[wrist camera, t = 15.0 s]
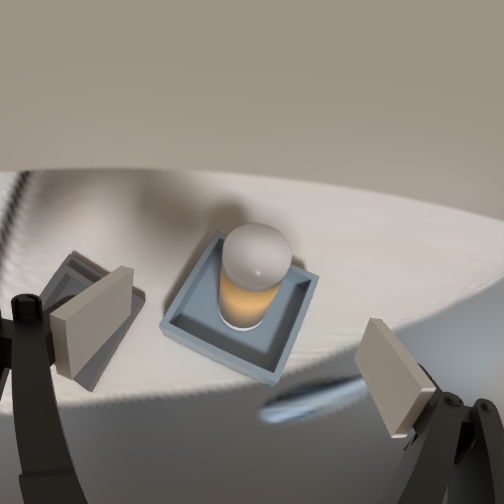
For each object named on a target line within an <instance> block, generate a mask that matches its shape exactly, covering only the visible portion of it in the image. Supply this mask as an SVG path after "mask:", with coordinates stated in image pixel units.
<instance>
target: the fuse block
mask: <svg viewBox="0 0 504 504" xmlns="http://www.w3.org/2000/svg"><path fill="white" fill-rule="evenodd" d="M103 277H105V276H103V275H102V274H100V273H99V272H97V271H95V270H94V269H92V268H91V267H89V266H87V265H86V264H84V263H83V262H81V261H80V260H78V259H77V258H75V257H73V256H72V255H70V254H69V255H68V256H67V258H66V259H65V260H64V262H63V263H62V264H61V266H60V267H59V269H58V270H57V271H56V273H55V274H54V276H53V277H52V278H51V280H50V281H49V283H48V284H47V286H46V287H45V289H44V290H43V292H42V293H41V295H40V296H39V297H40V298H41V300H42V310H43V311H44V310H46V309H47V308H49V307H50V306H53V304H55V303H56V302H58V301H59V300H61V299H62V298H64V297H66V296H70V295H78V294H79V293H81V292H82V291H84V290H85V289H87V288H88V287H90V286H91V285H93V284H94V283H96V282H97V281H99V280H100V279H102V278H103ZM144 303H145V301H144V299H142V298H141V297H139V296H137V295H135V294H134V293H132V299H131V315H130V316H129V317H128V318H127V319H126V320H125V321H124V322H123V323H122V324H121V325H120V327H119V328H118V329H117V330H116V331H115V332H114V333H113V334H112V335H111V336H110V337H109V339H108V340H107V341H106V342H105V343H104V344H103V345H102V346H101V347H100V349H99V350H98V351H97V352H96V353H95V354H94V355H93V356H92V358H91V359H90V360H89V361H88V362H87V363H86V364H85V366H84V367H83V368H82V369H81V370H80V371H79V372H78V374H77V375H76V376H75V377H74V378H73V380H74V381H76V382H77V383H78V384H80V385H81V386H82V387H84V388H85V389H86V390H88V391H90V392H92V391H93V390H94V388H95V386H96V384H97V382H98V381H99V379H100V377H101V375H102V373H103V372H104V370H105V368H106V366H107V365H108V363H109V361H110V359H111V358H112V356H113V354H114V353H115V351H116V349H117V348H118V346H119V344H120V342H121V341H122V339H123V337H124V336H125V334H126V332H127V331H128V329H129V328H130V326H131V324H132V323H133V321H134V319H135V318H136V316H137V315H138V313H139V311H140V310H141V308H142V306H143V305H144ZM54 364H55V363H54ZM55 365H56V364H55Z"/></svg>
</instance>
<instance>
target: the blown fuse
mask: <svg viewBox="0 0 504 504" xmlns="http://www.w3.org/2000/svg"><path fill="white" fill-rule="evenodd" d="M291 260H292V251H291V247H290V245H289V243H288V241H287V240H286V238H285V237H284V236H283V235H282V234H281V233H280V232H279V231H277V230H276V229H274V228H272V227H270V226H267V225H263V224H256V223H253V224H245V225H242V226H240V227H238V228H236V229H234V230H233V231H232V232H231V233H230V234H229V235H228V236H227V238H226V240H225V242H224V245H223V253H222V265H221V278H220V290H219V304H218V314H219V317H220V320H221V321H222V323H223V324H224V325H225V326H226V327H227V328H229V329H230V330H232V331H235V332H241V333H244V332H249V331H252V330H254V329H256V328H257V327H258V326H259V325H260V324H261V323H262V321H263V319H264V317H265V315H266V313H267V311H268V309H269V307H270V305H271V303H272V301H273V299H274V297H275V295H276V293H277V291H278V289H279V287H280V285H281V283H282V281H283V279H284V277H285V275H286V273H287V271H288V269H289V267H290V264H291Z"/></svg>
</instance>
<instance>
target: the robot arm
mask: <svg viewBox="0 0 504 504" xmlns="http://www.w3.org/2000/svg"><path fill="white" fill-rule="evenodd" d="M133 274H134V269H132V268H128V267H124V266H120V267H119V268H117V269H116V270H114V271H113V272H111V273H110V274H108V275H107V276H105V277H103V278H102V279H100V280H99V281H97V282H96V283H94V284H93V285H91V286H90V287H88V288H87V289H85V290H84V291H82V292H81V293H79V294H78V295H70V296H66V297H64V298H62V299H61V300H59V301H58V302H56V303H55V304H53V306H50V307H49V308H47V309H46V310H44V311H43V310H42V300H41V298H40V297H38V296H37V295H33V294H20V295H17V296H15V297H14V298H12V300H11V306H12V314H13V321H12V320H8V319H3V318H2V316H1V310H0V400H1V397H2V393H3V390H4V386H5V383H6V380H7V377H8V374H9V371H10V369H11V372H12V400H13V413H14V423H15V432H16V439H17V446H18V452H19V457H20V463H21V468H22V474H20V475H19V483H20V488H21V492H22V496H23V500H24V503H25V504H90V502H89V500H88V497H87V495H86V493H85V490H84V488H83V485H82V483H81V480H80V478H79V475H78V472H77V470H76V467H75V464H74V461H73V458H72V455H71V452H70V449H69V446H68V443H67V439H66V436H65V433H64V429H63V425H62V421H61V418H60V414H59V409H58V405H57V401H56V396H55V391H54V386H53V381H52V376H51V370H50V367H51V366H52V365H53V364H54V363H55V364H56V370H57V374H60V375H62V376H64V377H66V378H68V379H71V380H72V379H73V378H74V377H75V376H76V375H77V374H78V372H79V371H80V370H81V369H82V368H83V367H84V366H85V364H86V363H87V362H88V361H89V360H90V359H91V358H92V356H93V355H94V354H95V353H96V352H97V351H98V350H99V349H100V347H101V346H102V345H103V344H104V343H105V342H106V341H107V340H108V339H109V337H110V336H111V335H112V334H113V333H114V332H115V331H116V330H117V329H118V328H119V327H120V325H121V324H122V323H123V322H124V321H125V320H126V319H127V318H128V317H129V316H130V315H131V299H132V285H133ZM354 360H355V362H356V364H357V366H358V368H359V370H360V372H361V374H362V376H363V378H364V380H365V382H366V385H367V387H368V389H369V391H370V393H371V395H372V397H373V399H374V401H375V403H376V405H377V407H378V410H379V412H380V414H381V416H382V418H383V420H384V422H385V425H386V427H387V429H388V431H389V433H390V436H391V438H399V437H406V436H407V434H408V433H409V431H410V430H411V428H412V427H413V428H414V430H415V432H416V433H415V434H414V436H413V437H412V439H411V440H410V441H409V443H408V444H407V446H406V447H405V448H404V451H406V452H405V454H404V456H403V458H402V460H401V462H400V464H399V466H398V468H397V470H396V472H395V474H394V476H393V477H392V479H391V481H390V483H389V485H388V486H387V488H386V490H385V492H384V493H383V495H382V497H381V499H380V500H379V502H378V504H442V501H443V498H444V495H445V492H446V488H447V485H448V504H504V428H503V425H502V422H501V419H500V416H499V413H498V410H497V408H496V406H495V405H494V404H493V402H491V401H489V400H486V399H481V398H480V399H478V400H477V401H476V402H475V404H474V405H473V407H468V406H464V403H463V401H462V400H461V399H460V398H459V397H458V396H457V395H454V394H452V393H450V392H442V390H441V389H440V388H439V387H438V385H437V384H436V383H435V381H434V380H432V377H431V376H430V375H428V372H427V371H426V370H425V369H424V368H423V367H422V366H421V365H420V364H418V363H417V362H416V361H415V360H414V359H413V357H412V356H411V355H410V354H409V352H408V351H407V350H406V349H405V347H404V346H403V345H402V344H401V342H400V341H399V340H398V339H397V338H396V336H395V335H394V334H393V333H392V331H391V330H390V329H389V328H388V327H387V325H386V324H385V323H384V322H383V321H382V320H381V319H375V318H370V320H369V322H368V325H367V328H366V330H365V333H364V335H363V338H362V341H361V343H360V346H359V348H358V351H357V353H356V356H355V358H354Z"/></svg>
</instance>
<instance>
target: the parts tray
mask: <svg viewBox="0 0 504 504" xmlns="http://www.w3.org/2000/svg"><path fill="white" fill-rule="evenodd" d="M226 238H227V235H225V234H223V233H221V232H218V231H217V232H216V233H215V235H214V237H213V238H212V240H211V241H210V243H209V244H208V246H207V248H206V249H205V251H204V252H203V254H202V255H201V257H200V259H199V260H198V262H197V263H196V265H195V267H194V268H193V270H192V271H191V273H190V275H189V276H188V278H187V279H186V281H185V283H184V284H183V286H182V288H181V289H180V291H179V293H178V294H177V296H176V297H175V299H174V301H173V302H172V304H171V306H170V307H169V309H168V311H167V312H166V314H165V316H164V317H163V319H162V321H161V322H160V324H159V327H160V328H161V330H162V332H163V334H164V335H165V336H167V337H168V338H170V339H172V340H174V341H176V342H178V343H180V344H182V345H183V346H185V347H187V348H189V349H191V350H193V351H195V352H197V353H199V354H201V355H203V356H205V357H207V358H209V359H211V360H213V361H215V362H217V363H219V364H221V365H224V366H226V367H228V368H230V369H232V370H234V371H236V372H239V373H241V374H243V375H245V376H248V377H250V378H252V379H254V380H257V381H259V382H261V383H264V384H266V385H269V386H273V385H274V384H276V383H278V381H279V379H280V377H281V374H282V372H283V369H284V367H285V365H286V362H287V360H288V358H289V355H290V353H291V350H292V348H293V345H294V343H295V340H296V338H297V335H298V333H299V330H300V328H301V325H302V323H303V320H304V317H305V315H306V312H307V309H308V307H309V304H310V301H311V299H312V296H313V293H314V291H315V288H316V285H317V282H318V279H319V276H317V275H315V274H313V273H310V272H308V271H306V270H304V269H302V268H299V267H297V266H295V265H293V264H290V267H289V269H288V271H287V273H286V275H285V277H284V279H283V281H282V283H281V285H280V287H279V289H278V291H277V293H276V295H275V297H274V299H273V301H272V303H271V305H270V307H269V309H268V311H267V313H266V315H265V317H264V319H263V321H262V323H261V324H260V325H259V326H258V327H257V328H256V329H254V330H252V331H249V332H244V333H241V332H235V331H232V330H230V329H229V328H227V327H226V326H225V325H224V324H223V323H222V321H221V320H220V317H219V314H218V304H219V290H220V278H221V265H222V253H223V245H224V242H225V240H226Z"/></svg>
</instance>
